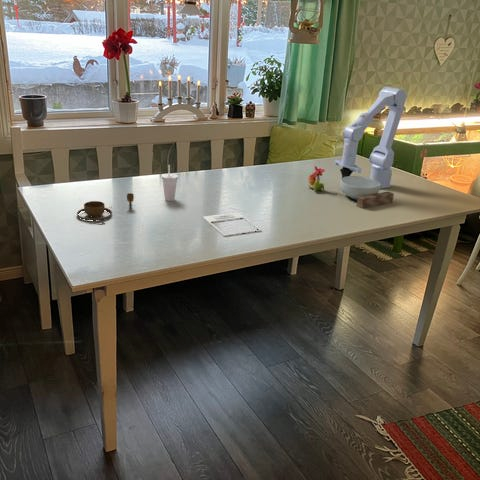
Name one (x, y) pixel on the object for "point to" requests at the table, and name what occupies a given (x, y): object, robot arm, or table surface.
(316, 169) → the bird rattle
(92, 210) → the place setting
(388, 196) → the block
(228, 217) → the photo frame
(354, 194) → the cereal bowl
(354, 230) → the table surface
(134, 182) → the table surface
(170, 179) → the smoothie
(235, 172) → the table surface
